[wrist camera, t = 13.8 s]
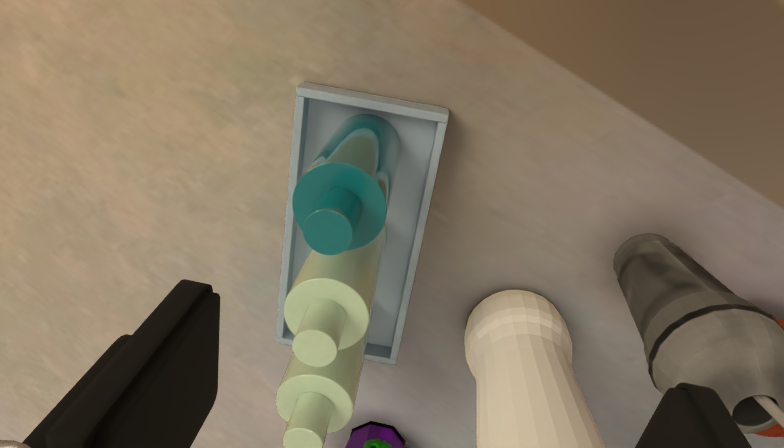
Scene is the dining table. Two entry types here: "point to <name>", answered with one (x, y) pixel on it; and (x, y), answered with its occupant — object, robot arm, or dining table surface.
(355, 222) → the loose bottle
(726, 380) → the beverage cup
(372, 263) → the bottle
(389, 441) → the potion bottle
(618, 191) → the dining table surface
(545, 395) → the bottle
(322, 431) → the bottle
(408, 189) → the tray
